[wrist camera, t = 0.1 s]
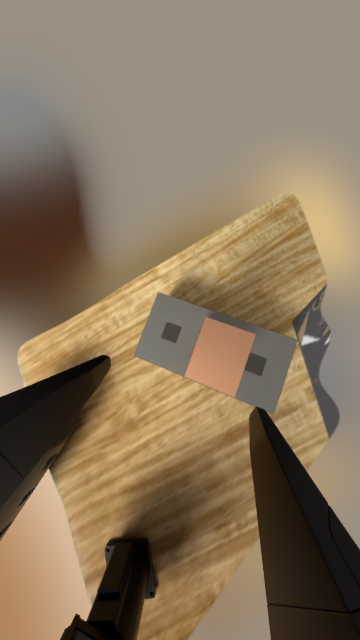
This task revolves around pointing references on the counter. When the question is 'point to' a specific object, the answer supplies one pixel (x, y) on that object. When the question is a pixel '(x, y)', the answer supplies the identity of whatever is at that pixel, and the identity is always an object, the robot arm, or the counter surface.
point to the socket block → (180, 338)
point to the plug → (220, 356)
